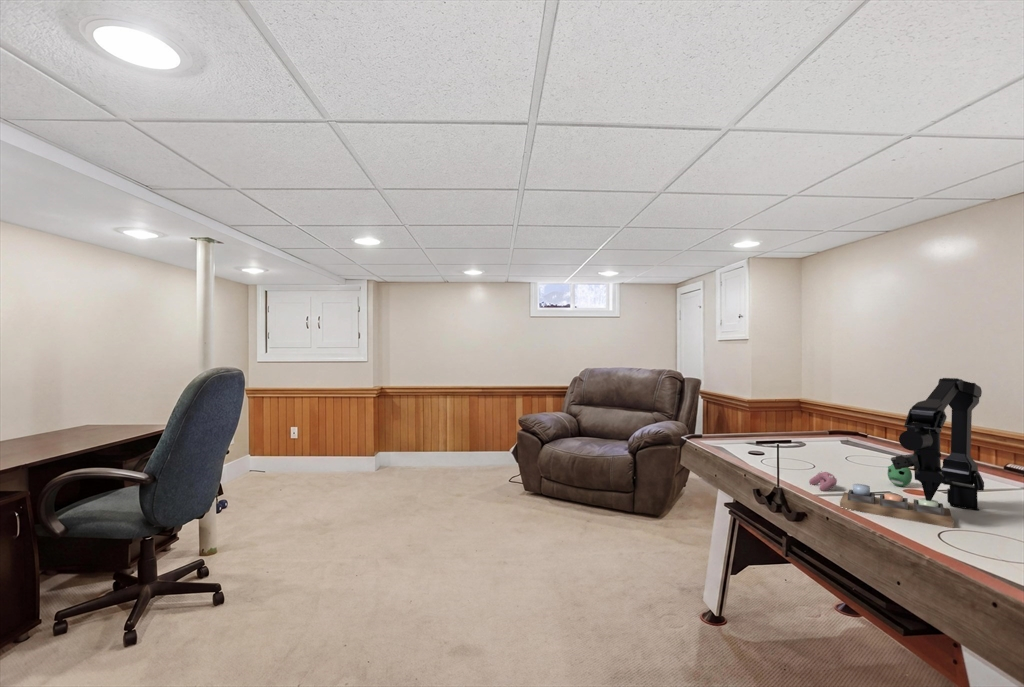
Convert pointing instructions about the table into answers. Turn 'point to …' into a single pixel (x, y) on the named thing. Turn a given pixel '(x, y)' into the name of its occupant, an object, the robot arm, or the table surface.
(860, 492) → the slate button
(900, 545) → the table surface
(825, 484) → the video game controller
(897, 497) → the terracotta button
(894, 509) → the button panel
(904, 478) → the alien toy
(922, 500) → the sage button
